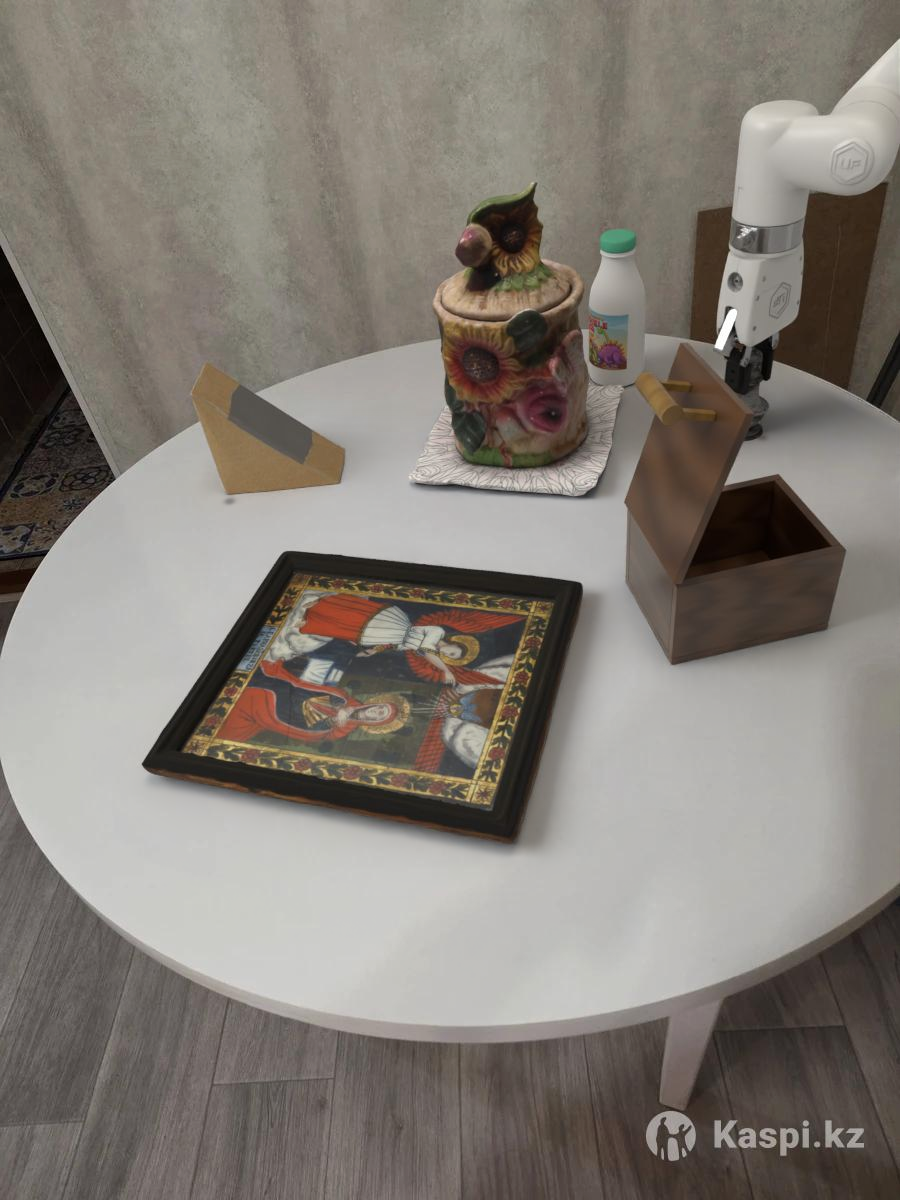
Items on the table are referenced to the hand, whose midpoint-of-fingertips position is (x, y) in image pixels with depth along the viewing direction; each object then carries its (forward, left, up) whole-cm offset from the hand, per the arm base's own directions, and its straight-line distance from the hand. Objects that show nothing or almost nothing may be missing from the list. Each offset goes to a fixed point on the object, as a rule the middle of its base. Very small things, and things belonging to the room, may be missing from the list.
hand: (747, 382), depth 106 cm
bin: (+28, +18, -7) cm, 34 cm away
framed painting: (+59, +1, -7) cm, 59 cm away
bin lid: (+32, +16, +12) cm, 38 cm away
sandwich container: (+45, -39, -7) cm, 60 cm away
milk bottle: (-1, -22, -7) cm, 23 cm away
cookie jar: (+20, -20, -7) cm, 29 cm away
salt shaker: (0, 0, -7) cm, 7 cm away
